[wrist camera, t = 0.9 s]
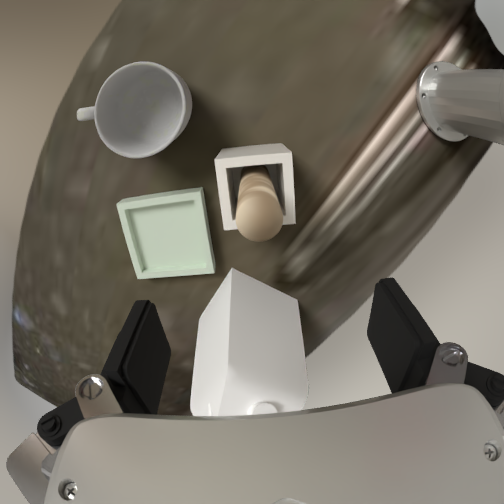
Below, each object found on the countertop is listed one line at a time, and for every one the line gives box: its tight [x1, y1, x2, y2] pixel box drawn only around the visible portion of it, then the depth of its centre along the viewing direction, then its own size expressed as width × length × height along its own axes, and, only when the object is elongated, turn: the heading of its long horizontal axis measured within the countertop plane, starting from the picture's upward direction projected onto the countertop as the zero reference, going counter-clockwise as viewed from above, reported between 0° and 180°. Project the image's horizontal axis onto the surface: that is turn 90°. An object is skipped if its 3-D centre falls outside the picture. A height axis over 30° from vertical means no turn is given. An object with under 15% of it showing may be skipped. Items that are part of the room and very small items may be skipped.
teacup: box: [77, 62, 192, 158], centre depth 29 cm, size 14×11×8 cm
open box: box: [215, 143, 296, 230], centre depth 33 cm, size 8×8×9 cm
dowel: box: [236, 164, 283, 241], centre depth 29 cm, size 4×4×16 cm
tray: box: [117, 187, 216, 279], centre depth 40 cm, size 12×12×2 cm
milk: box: [190, 268, 309, 416], centre depth 35 cm, size 12×12×26 cm
